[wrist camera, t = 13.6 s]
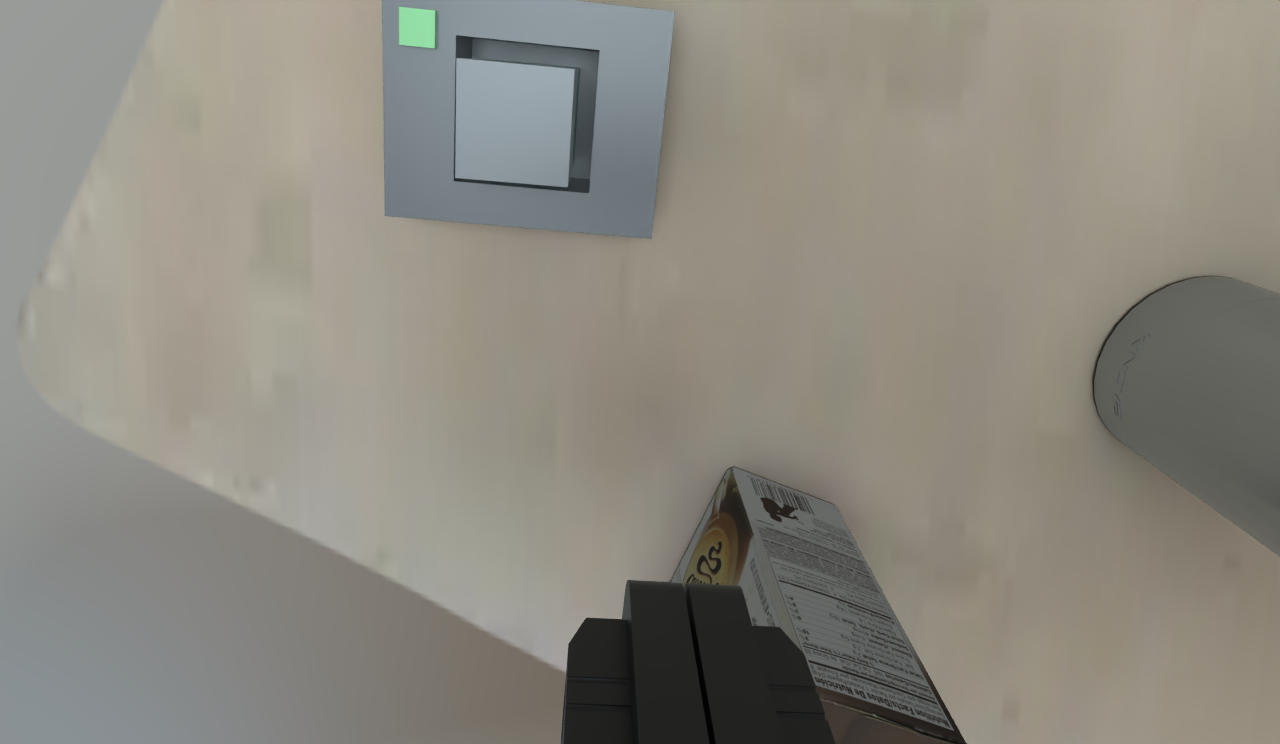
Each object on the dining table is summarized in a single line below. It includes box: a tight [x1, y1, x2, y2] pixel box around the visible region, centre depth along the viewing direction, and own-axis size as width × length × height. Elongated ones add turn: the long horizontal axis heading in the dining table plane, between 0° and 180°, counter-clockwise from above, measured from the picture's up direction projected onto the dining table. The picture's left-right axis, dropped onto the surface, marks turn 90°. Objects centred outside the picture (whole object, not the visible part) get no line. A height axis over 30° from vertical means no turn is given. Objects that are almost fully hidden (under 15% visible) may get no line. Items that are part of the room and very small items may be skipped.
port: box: [382, 0, 675, 239], centre depth 32 cm, size 10×8×5 cm
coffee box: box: [671, 467, 967, 744], centre depth 35 cm, size 9×6×16 cm
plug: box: [455, 58, 580, 187], centre depth 29 cm, size 4×4×8 cm
